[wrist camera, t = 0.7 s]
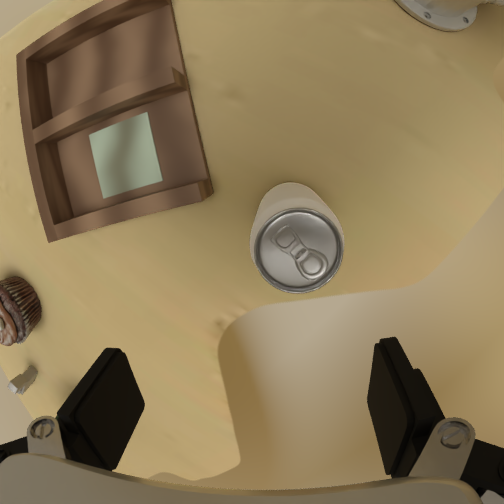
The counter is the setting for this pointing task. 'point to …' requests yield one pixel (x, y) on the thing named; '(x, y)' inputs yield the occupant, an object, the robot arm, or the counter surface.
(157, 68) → the tray
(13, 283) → the cupcake
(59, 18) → the counter surface
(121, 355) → the robot arm
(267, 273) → the can
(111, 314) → the counter surface
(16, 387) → the lighter
